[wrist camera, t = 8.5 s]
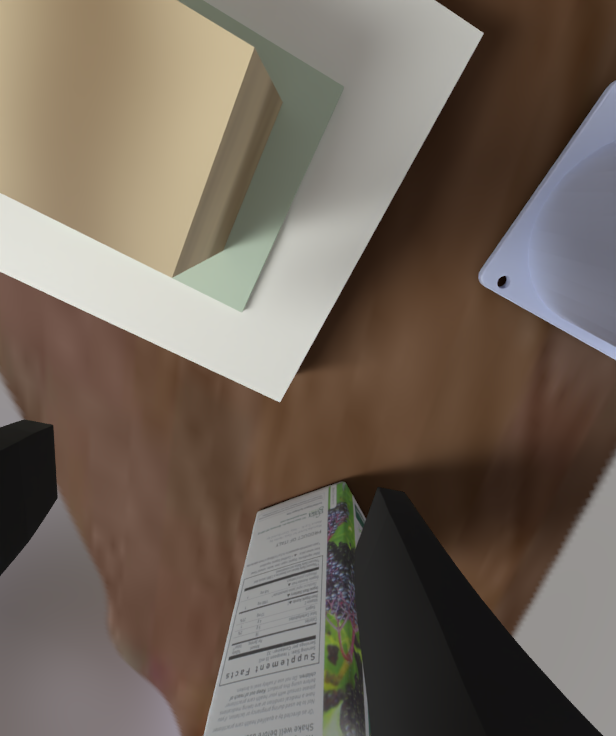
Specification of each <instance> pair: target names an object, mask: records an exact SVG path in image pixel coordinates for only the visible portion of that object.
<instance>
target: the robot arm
mask: <svg viewBox="0 0 616 736" xmlns="http://www.w3.org/2000/svg"><path fill="white" fill-rule="evenodd" d="M502 276H506V279H507V280H506V283H505V284H504V285H503V286H500V287H498V285H497V282H498V279H499V278H500V277H502ZM479 281H480V283H481V284H482V285H483V286H485V287H486V288H488V289H490V290H492V291H494V292H495V293H497V294H499V295H501V296H502V297H504V298H506V299H508V300H510V301H511V302H513V303H515V304H517V305H519V306H520V307H522V308H524V309H526V310H527V311H529V312H531V313H533V314H535V315H536V316H538V317H540V318H542V319H543V320H545V321H547V322H549V323H551V324H552V325H554V326H556V327H558V328H559V329H561V330H563V331H565V332H567V333H568V334H570V335H572V336H574V337H576V338H577V339H579V340H581V341H583V342H584V343H586V344H588V345H590V346H592V347H593V348H595V349H597V350H599V351H600V352H602V353H604V354H606V355H608V356H609V357H611V358H613V359H615V360H616V81H614V82H612V83H611V84H610V85H609V86H608V87H607V88H606V89H605V91H604V92H603V94H602V95H601V96H600V98H599V99H598V101H597V102H596V104H595V105H594V107H593V108H592V109H591V111H590V112H589V114H588V115H587V117H586V118H585V120H584V121H583V122H582V124H581V125H580V127H579V128H578V130H577V131H576V133H575V134H574V135H573V137H572V138H571V140H570V141H569V143H568V144H567V146H566V147H565V148H564V150H563V151H562V153H561V154H560V156H559V157H558V159H557V160H556V162H555V163H554V164H553V166H552V167H551V169H550V170H549V172H548V173H547V175H546V176H545V177H544V179H543V180H542V182H541V183H540V185H539V186H538V188H537V189H536V190H535V192H534V193H533V195H532V196H531V198H530V199H529V201H528V202H527V203H526V205H525V206H524V208H523V209H522V211H521V212H520V214H519V215H518V216H517V218H516V219H515V221H514V222H513V224H512V225H511V227H510V228H509V229H508V231H507V232H506V234H505V235H504V237H503V238H502V240H501V241H500V242H499V244H498V245H497V247H496V248H495V250H494V251H493V253H492V254H491V255H490V257H489V258H488V260H487V261H486V263H485V264H484V266H483V267H482V269H481V270H480V272H479ZM56 500H57V481H56V465H55V448H54V431H53V425H51V424H45V423H40V422H35V421H30V420H21V421H18V422H15V423H12V424H9V425H6V426H3V427H0V576H1V574H2V573H3V572H4V571H5V570H6V568H7V567H8V566H9V565H10V564H11V562H12V561H13V560H14V559H15V558H16V556H17V555H18V554H19V553H20V552H21V550H22V549H23V548H24V546H25V545H26V544H27V543H28V542H29V540H30V539H31V537H32V536H33V535H34V533H35V532H36V530H37V529H38V527H39V526H40V524H41V523H42V521H43V520H44V518H45V517H46V515H47V514H48V512H49V511H50V509H51V507H52V506H53V504H54V503H55V501H56ZM354 579H355V604H356V613H357V621H358V630H359V638H360V646H361V654H362V662H363V670H364V678H365V686H366V694H367V702H368V710H369V718H370V728H371V736H603V735H602V734H601V733H600V732H599V731H598V730H597V729H596V728H595V727H594V726H593V725H592V724H591V723H590V722H589V721H588V720H587V719H586V718H585V717H584V716H583V715H582V714H581V713H580V711H579V710H578V709H577V708H576V707H575V706H574V705H573V704H572V703H571V702H570V701H569V700H568V699H567V698H566V697H565V696H564V695H563V693H562V692H561V691H560V690H559V689H558V688H557V687H556V686H555V684H554V683H553V682H552V681H551V680H550V679H549V678H548V677H547V676H546V675H545V674H544V672H543V671H542V670H541V669H540V668H539V667H538V666H537V665H536V664H535V662H534V661H533V660H532V659H531V658H530V657H529V656H528V655H527V653H526V652H525V651H524V650H523V649H522V648H521V646H520V645H519V644H518V643H517V642H516V641H515V639H514V638H513V637H512V636H511V635H510V634H509V632H508V631H507V630H506V629H505V627H504V626H503V625H502V624H501V622H500V621H499V620H498V619H497V617H496V616H495V615H494V614H493V613H492V611H491V610H490V609H489V608H488V606H487V605H486V604H485V603H484V601H483V600H482V599H481V598H480V596H479V595H478V594H477V592H476V591H475V590H474V589H473V587H472V586H471V585H470V583H469V582H468V581H467V579H466V578H465V577H464V575H463V574H462V573H461V571H460V570H459V569H458V567H457V566H456V565H455V563H454V562H453V561H452V559H451V558H450V556H449V555H448V554H447V552H446V551H445V550H444V548H443V547H442V545H441V544H440V543H439V541H438V540H437V538H436V537H435V535H434V534H433V533H432V531H431V530H430V528H429V527H428V525H427V524H426V523H425V521H424V520H423V518H422V517H421V515H420V514H419V512H418V511H417V510H416V508H415V507H414V505H413V504H412V502H411V501H410V500H409V498H408V497H407V495H406V494H405V493H404V492H401V491H396V490H391V489H386V488H380V487H378V488H377V491H376V493H375V496H374V499H373V502H372V504H371V507H370V510H369V513H368V515H367V518H366V521H365V524H364V526H363V529H362V532H361V535H360V538H359V540H358V543H357V546H356V549H355V551H354Z"/></svg>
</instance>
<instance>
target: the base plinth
mask: <svg viewBox="0 0 616 736" xmlns="http://www.w3.org/2000/svg"><path fill="white" fill-rule="evenodd" d="M177 1H179V2H181V3H182V4H184V5H186V6H187V7H189V8H191V9H192V10H194V11H195V12H197V13H199V14H200V15H202V16H204V17H205V18H207V19H209V20H210V21H212V22H214V23H215V24H217V25H219V26H220V27H222V28H224V29H225V30H227V31H228V32H230V33H232V34H233V35H235V36H237V37H238V38H240V39H242V40H243V41H245V42H247V43H248V44H250V45H252V46H253V47H255V49H256V51H257V53H258V55H259V57H260V59H261V61H262V63H263V65H264V67H265V69H266V71H267V72H268V74H269V76H270V78H271V80H272V82H273V84H274V86H275V88H276V90H277V92H278V94H279V96H280V98H281V100H282V102H283V103H282V106H281V108H280V111H279V113H278V116H277V118H276V121H275V123H274V126H273V128H272V131H271V133H270V136H269V138H268V141H267V143H266V146H265V148H264V150H263V153H262V155H261V158H260V160H259V163H258V165H257V168H256V170H255V173H254V175H253V178H252V180H251V183H250V185H249V188H248V190H247V193H246V195H245V198H244V200H243V203H242V205H241V208H240V210H239V213H238V215H237V218H236V220H235V222H234V225H233V227H232V230H231V232H230V235H229V237H228V240H227V242H226V245H225V247H224V250H223V251H222V252H220V253H218V254H216V255H214V256H212V257H210V258H208V259H207V260H205V261H203V262H201V263H199V264H197V265H195V266H194V267H192V268H190V269H188V270H186V271H184V272H182V273H180V274H179V275H177V276H175V277H173V278H171V277H169V276H167V275H165V274H163V273H161V272H159V271H157V270H155V269H153V268H151V267H149V266H147V265H145V264H143V263H141V262H138V261H136V260H134V259H132V258H130V257H128V256H126V255H124V254H122V253H120V252H118V251H116V250H114V249H112V248H110V247H108V246H106V245H104V244H102V243H100V242H98V241H96V240H94V239H92V238H90V237H88V236H86V235H84V234H82V233H80V232H78V231H76V230H74V229H72V228H70V227H68V226H66V225H64V224H62V223H60V222H58V221H56V220H54V219H52V218H50V217H48V216H46V215H44V214H42V213H40V212H38V211H36V210H34V209H32V208H30V207H28V206H26V205H24V204H22V203H20V202H18V201H16V200H14V199H12V198H10V197H7V196H5V195H3V194H1V193H0V272H2V273H4V274H6V275H8V276H11V277H13V278H15V279H17V280H19V281H21V282H23V283H26V284H28V285H30V286H32V287H34V288H36V289H38V290H41V291H43V292H45V293H47V294H49V295H51V296H53V297H56V298H58V299H60V300H62V301H64V302H66V303H68V304H71V305H73V306H75V307H77V308H79V309H81V310H83V311H86V312H88V313H90V314H92V315H94V316H96V317H98V318H101V319H103V320H105V321H107V322H109V323H111V324H113V325H116V326H118V327H120V328H122V329H124V330H126V331H128V332H131V333H133V334H135V335H137V336H139V337H141V338H143V339H145V340H148V341H150V342H152V343H154V344H156V345H158V346H160V347H163V348H165V349H167V350H169V351H171V352H173V353H175V354H178V355H180V356H182V357H184V358H186V359H188V360H190V361H193V362H195V363H197V364H199V365H201V366H203V367H205V368H208V369H210V370H212V371H214V372H216V373H218V374H220V375H223V376H225V377H227V378H229V379H231V380H233V381H235V382H238V383H240V384H242V385H244V386H246V387H248V388H250V389H253V390H255V391H257V392H259V393H261V394H263V395H265V396H268V397H270V398H272V399H274V400H276V401H278V402H280V401H281V400H282V398H283V396H284V394H285V392H286V390H287V389H288V387H289V385H290V383H291V381H292V380H293V378H294V376H295V374H296V372H297V371H298V369H299V367H300V365H301V363H302V362H303V360H304V358H305V356H306V354H307V352H308V351H309V349H310V347H311V345H312V343H313V342H314V340H315V338H316V336H317V334H318V333H319V331H320V329H321V327H322V325H323V324H324V322H325V320H326V318H327V316H328V314H329V313H330V311H331V309H332V307H333V305H334V304H335V302H336V300H337V298H338V296H339V295H340V293H341V291H342V289H343V287H344V286H345V284H346V282H347V280H348V278H349V276H350V275H351V273H352V271H353V269H354V267H355V266H356V264H357V262H358V260H359V258H360V257H361V255H362V253H363V251H364V249H365V248H366V246H367V244H368V242H369V240H370V238H371V237H372V235H373V233H374V231H375V229H376V228H377V226H378V224H379V222H380V220H381V219H382V217H383V215H384V213H385V211H386V210H387V208H388V206H389V204H390V202H391V200H392V199H393V197H394V195H395V193H396V191H397V190H398V188H399V186H400V184H401V182H402V181H403V179H404V177H405V175H406V173H407V172H408V170H409V168H410V166H411V164H412V162H413V161H414V159H415V157H416V155H417V153H418V152H419V150H420V148H421V146H422V144H423V143H424V141H425V139H426V137H427V135H428V134H429V132H430V130H431V128H432V126H433V124H434V123H435V121H436V119H437V117H438V115H439V114H440V112H441V110H442V108H443V106H444V105H445V103H446V101H447V99H448V97H449V96H450V94H451V92H452V90H453V88H454V86H455V85H456V83H457V81H458V79H459V77H460V76H461V74H462V72H463V70H464V68H465V67H466V65H467V63H468V61H469V59H470V58H471V56H472V54H473V52H474V50H475V48H476V47H477V45H478V43H479V41H480V39H481V38H482V36H483V34H484V33H483V32H481V31H480V30H478V29H477V28H475V27H474V26H472V25H471V24H469V23H468V22H466V21H465V20H463V19H462V18H460V17H459V16H458V15H456V14H455V13H453V12H452V11H450V10H449V9H447V8H446V7H444V6H443V5H441V4H440V3H438V2H437V1H435V0H177Z"/></svg>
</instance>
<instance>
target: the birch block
mask: <svg viewBox="0 0 616 736" xmlns="http://www.w3.org/2000/svg"><path fill="white" fill-rule="evenodd" d="M282 103H283V102H282V100H281V98H280V96H279V94H278V92H277V90H276V88H275V86H274V84H273V82H272V80H271V78H270V76H269V74H268V72H267V71H266V69H265V67H264V65H263V63H262V61H261V59H260V57H259V55H258V53H257V51H256V49H255V47H253V46H252V45H250V44H248V43H247V42H245V41H243V40H242V39H240V38H238V37H237V36H235V35H233V34H232V33H230V32H228V31H227V30H225V29H224V28H222V27H220V26H219V25H217V24H215V23H214V22H212V21H210V20H209V19H207V18H205V17H204V16H202V15H200V14H199V13H197V12H195V11H194V10H192V9H191V8H189V7H187V6H186V5H184V4H182V3H181V2H179V1H177V0H0V193H1V194H3V195H5V196H7V197H10V198H12V199H14V200H16V201H18V202H20V203H22V204H24V205H26V206H28V207H30V208H32V209H34V210H36V211H38V212H40V213H42V214H44V215H46V216H48V217H50V218H52V219H54V220H56V221H58V222H60V223H62V224H64V225H66V226H68V227H70V228H72V229H74V230H76V231H78V232H80V233H82V234H84V235H86V236H88V237H90V238H92V239H94V240H96V241H98V242H100V243H102V244H104V245H106V246H108V247H110V248H112V249H114V250H116V251H118V252H120V253H122V254H124V255H126V256H128V257H130V258H132V259H134V260H136V261H138V262H141V263H143V264H145V265H147V266H149V267H151V268H153V269H155V270H157V271H159V272H161V273H163V274H165V275H167V276H169V277H171V278H173V277H175V276H177V275H179V274H180V273H182V272H184V271H186V270H188V269H190V268H192V267H194V266H195V265H197V264H199V263H201V262H203V261H205V260H207V259H208V258H210V257H212V256H214V255H216V254H218V253H220V252H222V251H223V250H224V247H225V245H226V242H227V240H228V237H229V235H230V232H231V230H232V227H233V225H234V222H235V220H236V218H237V215H238V213H239V210H240V208H241V205H242V203H243V200H244V198H245V195H246V193H247V190H248V188H249V185H250V183H251V180H252V178H253V175H254V173H255V170H256V168H257V165H258V163H259V160H260V158H261V155H262V153H263V150H264V148H265V146H266V143H267V141H268V138H269V136H270V133H271V131H272V128H273V126H274V123H275V121H276V118H277V116H278V113H279V111H280V108H281V106H282Z"/></svg>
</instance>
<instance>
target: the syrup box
mask: <svg viewBox="0 0 616 736" xmlns="http://www.w3.org/2000/svg"><path fill="white" fill-rule="evenodd" d="M365 521H366V518H365V516H364V515H363V513H362V511H361V509H360V507H359V505H358V504H357V502H356V500H355V498H354V496H353V495H352V493H351V491H350V489H349V488H348V486H347V484H346V483H345V482H339V483H336V484H333V485H330V486H327V487H324V488H321V489H319V490H316V491H313V492H310V493H307V494H304V495H302V496H299V497H296V498H293V499H290V500H288V501H285V502H282V503H280V504H277V505H274V506H272V507H269V508H266V509H263V510H261V511H258V512H257V515H256V520H255V523H254V528H253V532H252V537H251V541H250V545H249V548H248V553H247V557H246V561H245V566H244V570H243V573H242V577H241V582H240V586H239V590H238V595H237V600H236V603H235V607H234V611H233V615H232V619H231V623H230V628H229V632H228V636H227V640H226V645H225V649H224V654H223V658H222V662H221V666H220V670H219V674H218V678H217V682H216V686H215V690H214V695H213V699H212V703H211V707H210V710H209V715H208V719H207V724H206V728H205V732H204V736H371V728H370V718H369V710H368V702H367V694H366V686H365V678H364V670H363V662H362V654H361V646H360V638H359V630H358V621H357V613H356V604H355V579H354V551H355V549H356V546H357V543H358V540H359V538H360V535H361V532H362V529H363V526H364V524H365Z"/></svg>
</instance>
